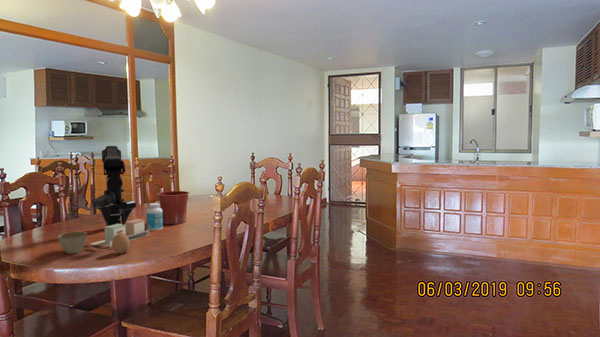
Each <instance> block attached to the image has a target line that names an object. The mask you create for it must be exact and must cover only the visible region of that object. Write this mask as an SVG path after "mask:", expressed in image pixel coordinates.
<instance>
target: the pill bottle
mask: <svg viewBox="0 0 600 337" xmlns="http://www.w3.org/2000/svg"><path fill="white" fill-rule="evenodd" d="M148 206H149V207H148V208H147V209H146V211H145V212H146V230H149V231H160V230H163V228H164V226H163V225H164V223H163V215H162V209H161V207H160V202H159V203H158V202H154V203H152V202H151V203H149V204H148Z"/></svg>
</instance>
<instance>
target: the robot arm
mask: <svg viewBox="0 0 600 337" xmlns="http://www.w3.org/2000/svg"><path fill="white" fill-rule="evenodd" d="M101 162H102V163H103V164H102V165H103V175H104V176H106V177H105V181H106V190H104V191H103V194H102V195H100V196H98V197H97V198H95V199H94V200H93V207H95V209H97V210H99V211H100V212H101V215H102V217H103V220H104V221H105V224H106V225H105V227H106V226H110V225H115V224H122V225H125V223H126V222H127V221H128V218H129V217H130V214H131V212H132V211H133V210H135V208H137V203H136V201H135V200H125V199H124V198H123V195H122V193H123V192H125V190H124V189H122V187H123V180H122V176H121V175H124V174H125V173H126V164H125V162H124V160H122V151H121V150H120V149H118V146H116V145H107V146H105V148H104V149H103V150H101ZM105 227H103V230H105Z"/></svg>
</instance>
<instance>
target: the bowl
mask: <svg viewBox="0 0 600 337" xmlns="http://www.w3.org/2000/svg"><path fill="white" fill-rule="evenodd" d="M87 238H88V232H85V231H72V232H66V233H62V234H60V235H58V241H59V244H60V246H61V248H62V249H63V250H64V251H65V254H68V255H75V254H79V253H80V252H82V250H83V248H84V247H85V244H86V241H87Z"/></svg>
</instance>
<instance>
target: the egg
mask: <svg viewBox="0 0 600 337" xmlns="http://www.w3.org/2000/svg"><path fill="white" fill-rule="evenodd" d="M130 245H131V241H129V238H128V237H127V235H125V234H124V233H119V234H117V235H116V236H115V237H114V239H113V241H112V247H111V249H112V250H113V251H114V252H115V253H116V254H119V255H122V254H125V253H126V252H127V251H128V250H129V249H130Z"/></svg>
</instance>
